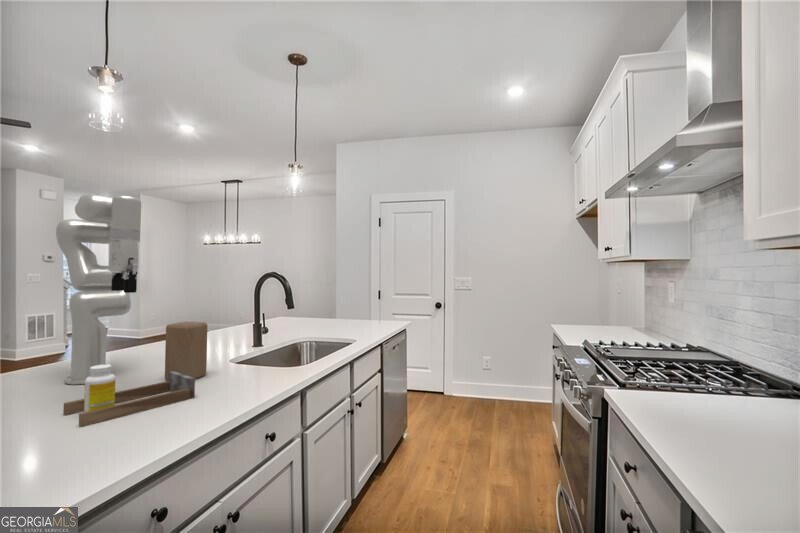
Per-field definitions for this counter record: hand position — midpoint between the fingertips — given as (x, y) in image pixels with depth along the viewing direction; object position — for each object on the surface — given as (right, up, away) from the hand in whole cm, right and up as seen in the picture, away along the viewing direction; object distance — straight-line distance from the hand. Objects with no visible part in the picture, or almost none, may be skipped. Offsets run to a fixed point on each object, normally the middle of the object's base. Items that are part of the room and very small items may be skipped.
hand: (123, 291), depth 117 cm
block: (+7, -33, +22) cm, 40 cm away
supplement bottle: (+3, -33, -13) cm, 36 cm away
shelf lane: (+8, -33, -7) cm, 34 cm away
